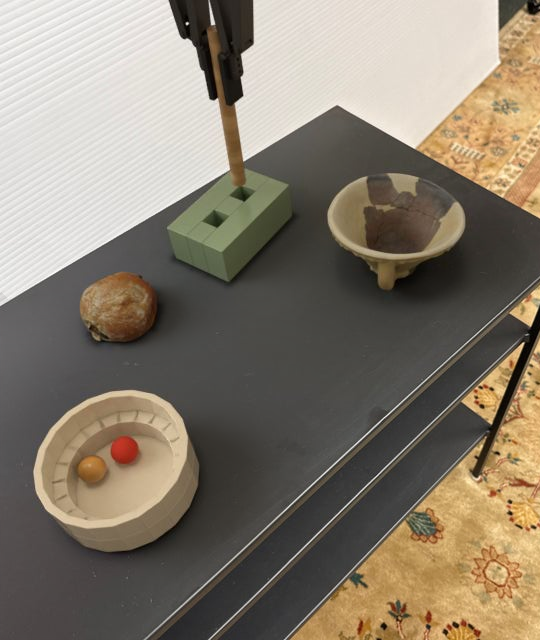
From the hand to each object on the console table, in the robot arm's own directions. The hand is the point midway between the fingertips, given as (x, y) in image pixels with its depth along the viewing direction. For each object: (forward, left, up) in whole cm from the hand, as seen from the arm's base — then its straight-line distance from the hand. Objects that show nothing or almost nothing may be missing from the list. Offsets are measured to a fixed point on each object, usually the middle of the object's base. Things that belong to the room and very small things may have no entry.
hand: (226, 97), depth 82 cm
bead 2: (+12, -39, -19) cm, 45 cm away
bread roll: (-4, -23, -22) cm, 32 cm away
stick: (0, -1, -13) cm, 13 cm away
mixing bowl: (+14, -41, -21) cm, 48 cm away
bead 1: (+10, -43, -19) cm, 48 cm away
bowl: (+23, +4, -22) cm, 32 cm away
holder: (0, -3, -21) cm, 22 cm away
